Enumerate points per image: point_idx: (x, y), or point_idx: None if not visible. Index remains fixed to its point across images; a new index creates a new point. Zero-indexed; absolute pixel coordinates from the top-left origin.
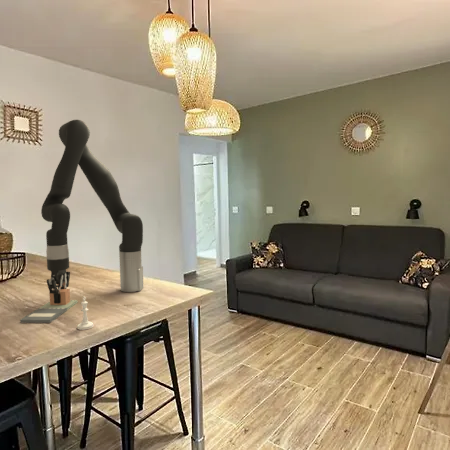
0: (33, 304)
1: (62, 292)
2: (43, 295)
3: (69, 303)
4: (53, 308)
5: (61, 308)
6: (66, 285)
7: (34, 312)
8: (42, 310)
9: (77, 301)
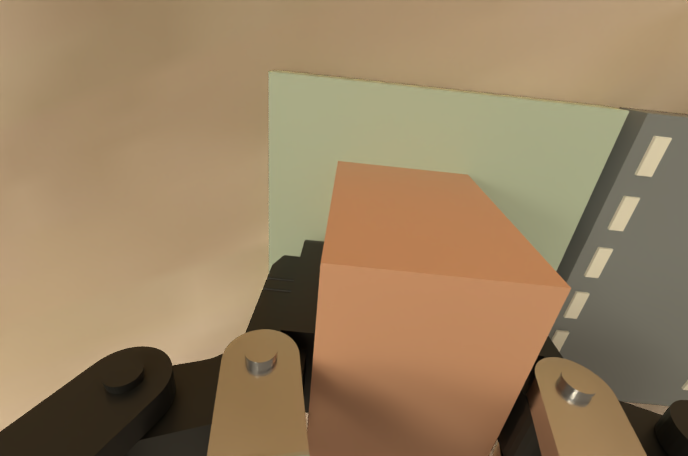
0: None
1: (537, 331)
2: None
3: (416, 145)
4: (603, 268)
5: (651, 175)
6: (165, 404)
7: (650, 386)
8: (616, 346)
9: (274, 71)
